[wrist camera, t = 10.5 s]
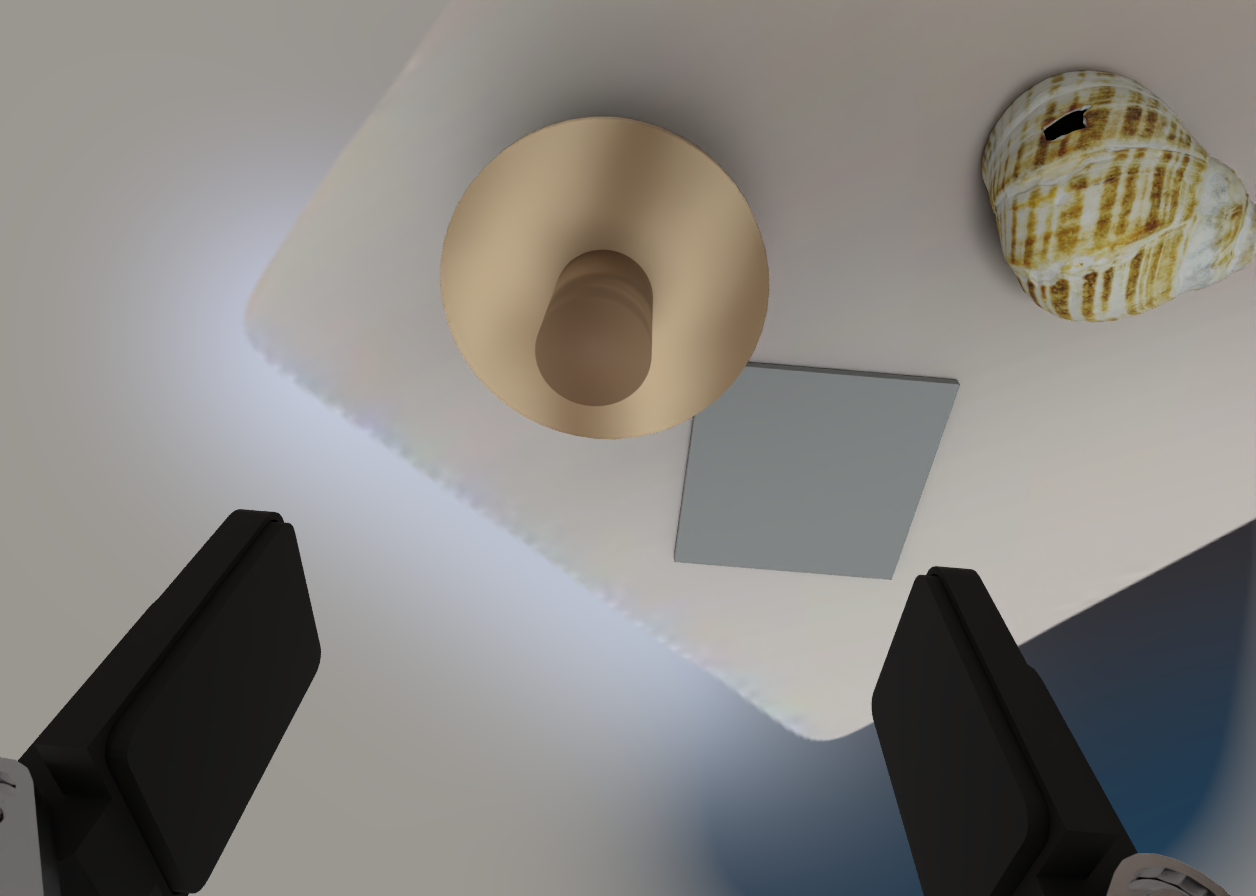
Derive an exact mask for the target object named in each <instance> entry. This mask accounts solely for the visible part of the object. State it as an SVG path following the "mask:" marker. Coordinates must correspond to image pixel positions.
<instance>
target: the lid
mask: <svg viewBox="0 0 1256 896" xmlns="http://www.w3.org/2000/svg"><path fill="white" fill-rule="evenodd" d="M441 292H442V300H443V306H444V310H445V314H446V317H447V321H448V325H449V328H450V330H451V332H452V335H453V337H454V340H455V342H456V344H457V346H458V348H459V350H460V351H461V353H462V355H463V357H464V359H465V360H466V362H467V363H468V365H469V366H470V367H471V369H472V370H473V371H474V373H475V374H476V375H477V377H478V378H479V379H480V380H481V381H482V382H483V383H484V384H485V386H486V387H487V388H488V389H489V390H490V391H491V392H492V393H493V394H494V395H496V396H497V397H498V398H499V399H500V400H502V401H503V402H504V403H505V404H506V405H508V406H509V407H511V408H512V409H514V410H515V411H517V412H518V413H520V414H521V415H523V416H525V417H527V418H529V419H531V420H533V421H535V422H537V423H539V424H541V425H543V426H546V427H549V428H551V429H554V430H557V431H560V432H564V433H568V434H571V435H575V436H581V437H589V438H596V439H621V438H632V437H638V436H643V435H648V434H652V433H656V432H659V431H662V430H665V429H668V428H671V427H673V426H675V425H677V424H679V423H682V422H684V421H686V420H688V419H690V418H691V417H693V416H694V415H696V414H698V413H699V412H701V411H702V410H704V409H705V408H707V407H708V406H709V405H710V404H712V403H713V402H714V401H715V400H717V399H718V398H719V397H720V396H721V395H722V394H723V393H724V392H725V391H726V390H727V389H728V388H729V387H730V386H731V385H732V384H733V383H734V381H735V380H736V378H737V377H738V376H739V374H740V373H741V372H742V370H743V369H744V368H745V366H746V364H747V362H748V361H749V359H750V357H751V355H752V354H753V352H754V350H755V347H756V345H757V342H758V340H759V337H760V335H761V332H762V329H763V325H764V321H765V317H766V313H767V306H768V297H769V269H768V263H767V257H766V251H765V247H764V243H763V240H762V237H761V234H760V231H759V227H758V225H757V223H756V221H755V219H754V216H753V214H752V212H751V210H750V208H749V206H748V204H747V202H746V200H745V198H744V197H743V195H742V194H741V192H740V190H739V189H738V187H737V186H736V184H735V183H734V181H733V180H732V179H731V178H730V177H729V176H728V174H727V173H726V172H725V171H724V170H723V169H722V168H721V166H720V165H719V164H718V163H716V162H715V161H714V160H713V159H712V158H711V157H710V156H708V155H707V154H706V153H705V152H704V151H703V150H701V149H700V148H698V147H697V146H695V145H694V144H692V143H691V142H689V141H688V140H686V139H684V138H683V137H681V136H679V135H677V134H675V133H673V132H670V131H668V130H666V129H664V128H662V127H659V126H656V125H652V124H649V123H646V122H642V121H639V120H633V119H627V118H620V117H584V118H577V119H570V120H566V121H562V122H559V123H555V124H552V125H548V126H545V127H543V128H541V129H539V130H537V131H534V132H532V133H530V134H528V135H526V136H524V137H523V138H521V139H519V140H518V141H516V142H515V143H513V144H512V145H510V146H509V147H507V148H506V149H505V150H504V151H502V152H501V153H500V154H499V155H498V156H497V157H495V158H494V159H493V160H492V161H491V162H490V163H489V164H488V165H487V166H486V167H484V169H483V170H482V171H481V172H480V173H479V174H478V176H477V177H476V178H475V179H474V180H473V181H472V183H471V184H470V185H469V187H468V188H467V190H466V191H465V193H464V195H463V196H462V198H461V199H460V201H459V203H458V205H457V207H456V209H455V211H454V214H453V216H452V218H451V220H450V223H449V226H448V229H447V233H446V236H445V240H444V243H443V251H442V258H441Z"/></svg>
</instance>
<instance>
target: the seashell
mask: <svg viewBox="0 0 1256 896" xmlns="http://www.w3.org/2000/svg"><path fill="white" fill-rule="evenodd" d="M1085 109H1088V110H1087V111H1086V112H1085V113H1084V114H1083V116H1084V120H1083V123H1084V125H1085V126H1086V128H1083V129H1079V130H1076V131H1073V132H1071V133H1069V134H1067V135H1062V136H1060V137H1058V138H1057V139H1055V140H1052V141H1047V140H1046V138H1045V134H1044V133H1043V131H1044V130H1045V129H1046V128H1047V127H1049V126H1051V125H1052V124H1053V123H1055V122H1056V121H1058V120H1059V119H1061V118H1062V117H1064V116H1065V115H1067V114H1069V113H1071V112H1075V111H1078V110H1081V111H1082V110H1085ZM982 177H983V180H984V182H985V185H986V187H987V190H988V191H989V199H990V204H991V207H992V209H993V212H994V213H995V214H996V224H997V231H998V235H999V239H1000V242H1001V247H1002V254H1003V256H1004V258H1005V260H1006V262H1007V263H1008V264H1009V265H1010V267H1011V268H1012V270H1013V272H1014V273H1015V275H1016V276H1017V278H1018V281H1019V283H1020V285H1021V287H1022V288H1023V290H1024V292H1026V293H1027V294H1028V295H1029V296H1030V298H1031V299H1032V300H1033V301H1034V302H1035V303H1036V304H1037V305H1038V306H1040V307H1041V308H1043V309H1044V310H1046V311H1049V312H1050V313H1051V314H1053V315H1055V316H1057V317H1060V318H1063V319H1067V320H1071V321H1087V322H1103V321H1114V320H1119V319H1122V318H1126V317H1130V316H1133V315H1137V314H1141V313H1144V312H1146V311H1148V310H1150V309H1153V308H1155V307H1157V306H1159V305H1161V304H1163V303H1165V302H1167V301H1169V300H1171V299H1173V298H1175V297H1176V296H1177V295H1179V294H1182V293H1183V292H1184V291H1196V290H1199V289H1203V288H1206V287H1209V286H1211V285H1213V284H1215V283H1217V282H1219V281H1221V280H1223V279H1224V278H1226V277H1227V276H1228V275H1229V274H1231V273H1234V272H1236V271H1239V270H1242V269H1244V268H1245V267H1247V266H1248V265H1249V264H1250V263H1251V262H1253V261H1254V260H1256V205H1255V204H1254V203H1253V202H1251V201H1250V200H1249V195H1248V194H1247V193H1246V189H1245V187H1244V185H1243V183H1242V182H1241V180H1240V179H1239V178H1238V176H1237V175H1236V174H1235V172H1234V171H1233V170H1232V169H1230V168H1229V167H1228V166H1227V165H1225V164H1223V163H1222V162H1220V161H1219V160H1217V159H1215V158H1212V157H1210V156H1209V155H1208V154H1207V152H1206V150H1204V149H1203V148H1202V147H1201V146H1200V145H1199V144H1198V143H1197V142H1196V141H1195V139H1194V138H1193V137H1192V136H1191V135H1190V134H1189V133H1188V131H1187V130H1186V129H1185V127H1184V126H1183V124H1182V122H1181V121H1180V119H1179V118H1178V116H1177V115H1176V114H1175V113H1174V112H1173V111H1172V110H1171V109H1170V108H1169V107H1168V106H1167V105H1166V104H1165V103H1164V102H1163V101H1162V100H1161V99H1159V98H1158V97H1157V96H1155V95H1154V94H1152V93H1151V92H1149V91H1148V90H1146V89H1145V88H1144V87H1143V86H1141V85H1140V84H1139V83H1137V82H1136V81H1134V80H1131V79H1128V78H1125V77H1122V76H1119V75H1116V74H1113V73H1107V72H1101V71H1092V70H1085V71H1074V72H1067V73H1062V74H1058V75H1055V76H1052V77H1049V78H1047V79H1045V80H1043V81H1042V82H1040V83H1038V84H1037V85H1035V86H1033V87H1031V88H1030V89H1028V90H1027V91H1026V92H1024V93H1023V94H1022V95H1021V96H1020V97H1018V98H1017V99H1016V100H1015V101H1014V102H1013V103H1012V104H1011V105H1010V107H1009V108H1008V109H1007V110H1006V111H1005V113H1004V114H1003V115H1002V116H1001V118H1000V119H999V121H998V122H997V124H996V126H995V127H994V129H993V130H992V132H991V134H990V136H989V138H988V141H987V144H986V147H985V150H984V153H983V157H982Z"/></svg>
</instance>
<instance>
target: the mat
mask: <svg viewBox="0 0 1256 896" xmlns="http://www.w3.org/2000/svg"><path fill="white" fill-rule="evenodd" d="M959 386H960V384H959V383H958V381H957V380H953V379H942V378H930V377H918V376H906V375H894V374H882V373H870V372H858V371H847V370H835V369H823V368H811V367H799V366H787V365H775V364H763V363H752V362H747V364H746V366H745V368H744V369H743V370H742V372H741V373H740V374H739V376H738V377H737V378H736V380H735V381H734V383H733V384H732V385H731V386H730V387H729V388H728V389H727V390H726V391H725V392H724V393H723V394H722V395H721V396H720V397H719V398H718V399H717V400H715V401H714V402H713V403H712V404H710V405H709V406H708V407H707V408H705V409H704V410H702V411H701V412H699V413H698V414H696V415H694V417H693V424H692V431H691V438H690V445H689V452H688V460H687V467H686V474H685V481H684V488H683V495H682V503H681V510H680V517H679V524H678V531H677V539H676V546H675V553H674V562H681V563H693V564H706V565H718V566H730V567H742V568H754V569H766V570H778V571H791V572H803V573H815V574H827V575H839V576H851V577H863V578H876V579H888V580H892V577H893V574H894V571H895V568H896V565H897V563H898V560H899V557H900V554H901V551H902V548H903V546H904V543H905V540H906V537H907V534H908V531H909V528H910V526H911V523H912V520H913V517H914V514H915V511H916V509H917V506H918V503H919V500H920V497H921V494H922V491H923V489H924V486H925V483H926V480H927V477H928V474H929V471H930V469H931V466H932V463H933V460H934V457H935V454H936V452H937V449H938V446H939V443H940V440H941V437H942V434H943V432H944V429H945V426H946V423H947V420H948V417H949V415H950V412H951V409H952V406H953V403H954V400H955V397H956V395H957V392H958V389H959Z"/></svg>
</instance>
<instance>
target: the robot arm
mask: <svg viewBox="0 0 1256 896" xmlns="http://www.w3.org/2000/svg"><path fill="white" fill-rule="evenodd" d="M320 657H321V648H320V643H319V638H318V633H317V629H316V625H315V620H314V615H313V611H312V607H311V602H310V598H309V593H308V589H307V584H306V580H305V575H304V571H303V566H302V562H301V557H300V553H299V548H298V544H297V539H296V535H295V531H294V528H293V526H292V525H291V524H290V523H284V521H283V518H282V516H281V515H280V514H279V513H276V512H267V511H254V510H243V509H239V510H235V511H234V512H232V513H231V514H230V515H229V517H227V519H226V520H225V521H224V522H223V523H222V525H221V526H220V527H219V528H218V529H217V530H216V532H215V533H214V534H213V535H212V536H211V537H210V539H209V540H208V541H207V542H206V543H205V544H204V546H203V547H202V548H201V549H200V550H199V551H198V553H197V554H196V555H195V556H194V557H193V558H192V560H191V561H190V562H189V563H188V564H187V566H186V567H185V568H184V569H183V570H182V571H181V573H180V574H179V575H178V576H177V577H176V579H175V580H174V581H173V582H172V583H171V584H170V585H169V587H168V588H167V589H166V590H165V591H164V593H163V594H162V595H161V596H160V597H159V598H158V599H157V600H156V601H155V602H154V603H153V604H152V605H151V606H150V607H149V608H148V609H147V610H146V612H145V613H144V614H143V615H142V616H141V618H140V619H139V620H138V621H137V622H136V623H135V625H134V626H133V627H132V628H131V629H130V630H129V632H128V633H127V634H126V635H125V636H124V637H123V639H122V640H121V641H120V642H119V643H118V644H117V646H116V647H115V648H114V649H113V650H112V651H111V653H110V654H109V655H108V656H107V657H106V658H105V660H104V661H103V662H102V663H101V664H100V665H99V667H98V668H97V669H96V670H95V672H94V673H93V674H92V675H91V676H90V677H89V678H88V679H87V681H86V682H85V683H84V684H83V685H82V686H81V688H80V689H79V690H78V691H77V692H76V693H75V695H74V696H73V697H72V698H71V699H70V700H69V702H68V703H67V704H66V705H65V706H64V708H63V709H62V710H61V711H60V712H59V713H58V715H57V716H56V717H55V718H54V719H53V720H52V722H51V723H50V724H49V725H48V726H47V727H46V729H45V730H44V731H43V732H42V733H41V734H40V735H39V737H38V738H37V739H36V740H35V741H34V743H33V744H32V745H31V746H30V747H29V748H28V750H27V751H26V752H25V753H24V754H23V755H22V757H21V758H20V759H19V760H18V761H16V760H13V759H7V758H1V757H0V896H188V894H189V893H196V892H198V891H200V890H201V889H202V887H203V886H204V885H205V884H206V882H207V880H208V878H209V877H210V875H211V873H212V871H213V869H214V867H215V865H216V863H217V861H218V860H219V858H220V856H221V854H222V852H223V850H224V848H225V846H226V844H227V842H228V840H229V839H230V837H231V835H232V833H233V831H234V829H235V827H236V825H237V823H238V821H239V819H240V818H241V816H242V814H243V812H244V810H245V808H246V806H247V804H248V802H249V800H250V798H251V797H252V795H253V793H254V791H255V789H256V787H257V785H258V783H259V781H260V779H261V777H262V776H263V774H264V772H265V770H266V768H267V766H268V764H269V762H270V760H271V758H272V756H273V754H274V752H275V751H276V749H277V747H278V745H279V743H280V741H281V739H282V737H283V735H284V733H285V731H286V730H287V728H288V726H289V724H290V722H291V720H292V718H293V716H294V714H295V712H296V711H297V709H298V707H299V705H300V703H301V701H302V699H303V697H304V695H305V693H306V691H307V690H308V688H309V686H310V684H311V682H312V680H313V678H314V676H315V674H316V672H317V670H318V667H319V663H320ZM872 716H873V720H874V724H875V727H876V730H877V734H878V738H879V741H880V745H881V748H882V751H883V755H884V758H885V762H886V765H887V769H888V772H889V776H890V779H891V783H892V786H893V790H894V793H895V797H896V800H897V804H898V807H899V810H900V814H901V818H902V821H903V825H904V828H905V832H906V835H907V839H908V841H909V845H910V849H911V852H912V856H913V859H914V863H915V866H916V870H917V873H918V877H919V880H920V884H921V887H922V891H923V894H924V896H1230V895H1229V894H1228V893H1227V892H1226V891H1225V890H1224V889H1223V888H1222V887H1221V886H1219V885H1218V884H1217V883H1215V882H1214V881H1212V880H1211V879H1210V878H1208V877H1207V876H1206V875H1204V874H1203V873H1201V872H1200V871H1198V870H1196V869H1194V868H1192V867H1190V866H1188V865H1186V864H1184V863H1183V862H1181V861H1179V860H1176V859H1173V858H1169V857H1165V856H1162V855H1158V854H1138V853H1137V851H1136V849H1135V847H1134V845H1133V844H1132V842H1131V840H1130V838H1129V836H1128V835H1127V833H1126V831H1125V829H1124V827H1123V826H1122V824H1121V822H1120V820H1119V818H1118V816H1117V815H1116V813H1115V811H1114V809H1113V808H1112V806H1111V804H1110V802H1109V800H1108V798H1107V796H1106V795H1105V793H1104V791H1103V789H1102V787H1101V786H1100V784H1099V782H1098V780H1097V779H1096V777H1095V775H1094V773H1093V771H1092V769H1091V767H1090V766H1089V764H1088V762H1087V760H1086V758H1085V757H1084V755H1083V753H1082V751H1081V750H1080V748H1079V746H1078V744H1077V742H1076V740H1075V739H1074V737H1073V735H1072V733H1071V731H1070V730H1069V728H1068V726H1067V724H1066V722H1065V720H1064V719H1063V717H1062V715H1061V713H1060V711H1059V710H1058V708H1057V706H1056V704H1055V702H1054V701H1053V699H1052V697H1051V695H1050V694H1049V692H1048V690H1047V688H1046V686H1045V684H1044V683H1043V681H1042V679H1041V678H1040V676H1039V675H1038V673H1037V672H1036V671H1035V669H1033V668H1032V667H1031V666H1029V665H1028V664H1027V663H1026V661H1025V659H1024V657H1023V655H1022V654H1021V652H1020V650H1019V648H1018V646H1017V644H1016V643H1015V641H1014V639H1013V637H1012V635H1011V633H1010V632H1009V630H1008V628H1007V626H1006V624H1005V622H1004V620H1003V619H1002V617H1001V615H1000V613H999V611H998V609H997V608H996V606H995V604H994V602H993V600H992V598H991V597H990V595H989V593H988V591H987V589H986V587H985V586H984V584H983V582H982V580H981V578H980V576H979V575H978V574H977V572H976V571H974V570H972V569H962V568H950V567H938V566H935V567H932V568H931V569H929V571H928V573H927V575H918V576H917V577H916V579H915V581H914V583H913V586H912V589H911V591H910V594H909V597H908V600H907V602H906V605H905V608H904V611H903V613H902V616H901V619H900V621H899V624H898V627H897V630H896V632H895V635H894V638H893V641H892V643H891V646H890V649H889V651H888V654H887V657H886V660H885V662H884V665H883V668H882V671H881V673H880V676H879V679H878V681H877V684H876V687H875V690H874V692H873V696H872Z"/></svg>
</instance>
